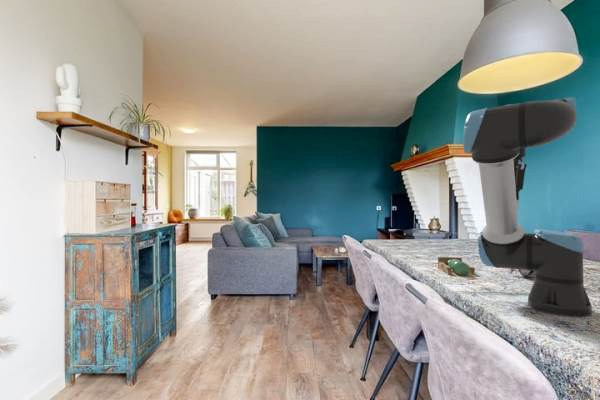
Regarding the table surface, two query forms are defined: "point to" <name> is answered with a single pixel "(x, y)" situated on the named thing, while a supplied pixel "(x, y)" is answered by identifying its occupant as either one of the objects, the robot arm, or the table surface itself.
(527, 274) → the decorative duck model
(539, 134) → the robot arm
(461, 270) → the bottle
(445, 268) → the cradle
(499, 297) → the table surface
